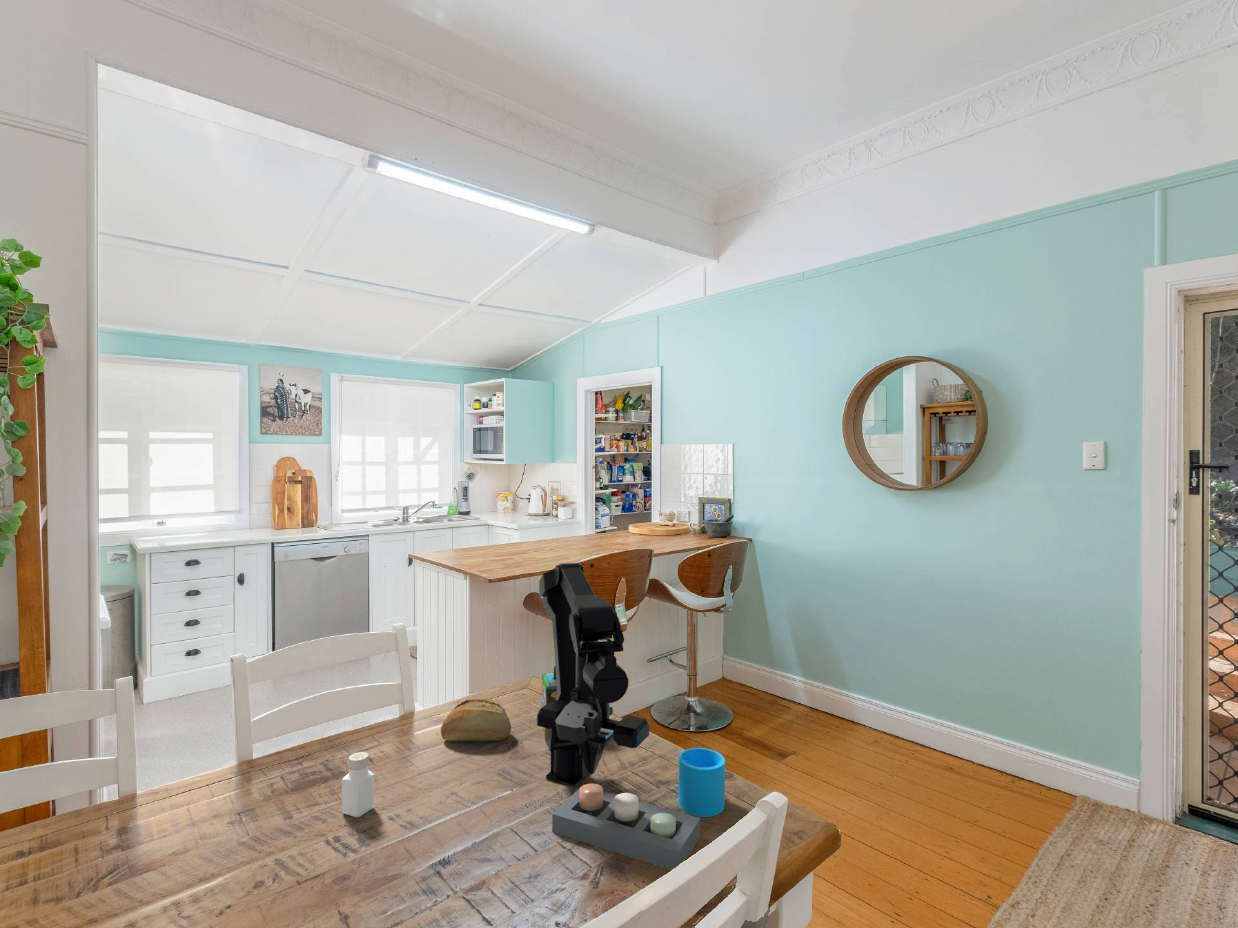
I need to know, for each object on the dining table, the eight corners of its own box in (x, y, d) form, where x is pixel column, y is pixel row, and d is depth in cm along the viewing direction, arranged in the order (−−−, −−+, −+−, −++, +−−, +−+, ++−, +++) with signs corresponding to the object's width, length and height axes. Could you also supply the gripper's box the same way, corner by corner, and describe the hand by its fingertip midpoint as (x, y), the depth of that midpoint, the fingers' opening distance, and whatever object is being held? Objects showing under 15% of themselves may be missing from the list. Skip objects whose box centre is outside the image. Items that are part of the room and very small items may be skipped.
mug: (730, 815, 108) (731, 768, 108) (684, 818, 107) (684, 770, 107) (711, 780, 120) (712, 737, 120) (669, 782, 119) (670, 739, 119)
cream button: (609, 817, 101) (609, 802, 101) (620, 805, 105) (620, 790, 105) (632, 823, 100) (632, 808, 100) (642, 811, 103) (642, 796, 103)
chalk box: (579, 718, 148) (580, 655, 148) (586, 734, 139) (587, 668, 139) (540, 721, 146) (541, 658, 146) (545, 738, 137) (545, 671, 137)
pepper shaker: (375, 808, 109) (376, 753, 109) (357, 819, 105) (357, 763, 105) (358, 802, 111) (359, 748, 111) (340, 814, 107) (340, 758, 107)
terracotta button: (574, 806, 104) (575, 792, 104) (586, 795, 108) (586, 781, 108) (596, 813, 102) (596, 798, 102) (607, 801, 106) (607, 787, 106)
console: (552, 832, 103) (552, 813, 103) (582, 802, 112) (582, 785, 112) (678, 872, 93) (678, 852, 93) (700, 836, 102) (700, 818, 102)
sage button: (646, 838, 98) (646, 823, 98) (656, 825, 102) (656, 810, 102) (670, 845, 97) (670, 829, 97) (679, 831, 100) (679, 816, 100)
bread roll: (443, 731, 140) (443, 695, 140) (510, 727, 143) (511, 692, 143) (438, 751, 131) (438, 712, 131) (511, 746, 133) (511, 708, 133)
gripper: (518, 686, 102) (517, 781, 102) (622, 707, 94) (620, 811, 94) (554, 666, 112) (553, 753, 112) (651, 684, 104) (649, 777, 104)
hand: (591, 773), depth 105 cm, fingers closed
